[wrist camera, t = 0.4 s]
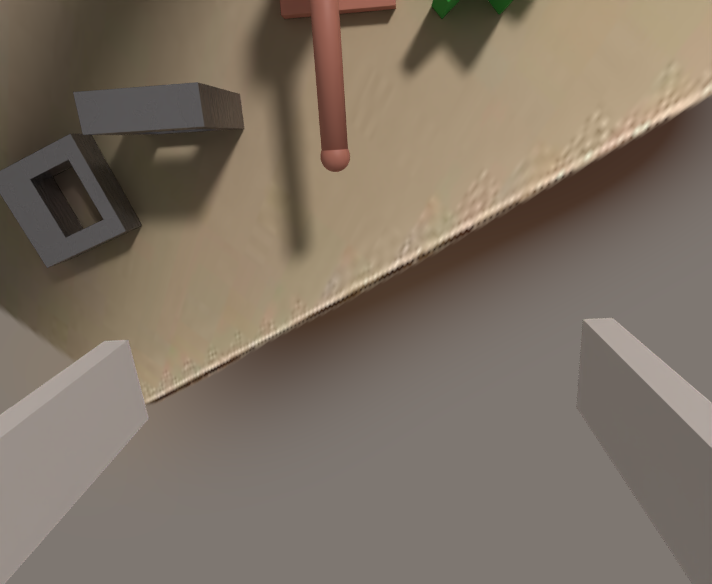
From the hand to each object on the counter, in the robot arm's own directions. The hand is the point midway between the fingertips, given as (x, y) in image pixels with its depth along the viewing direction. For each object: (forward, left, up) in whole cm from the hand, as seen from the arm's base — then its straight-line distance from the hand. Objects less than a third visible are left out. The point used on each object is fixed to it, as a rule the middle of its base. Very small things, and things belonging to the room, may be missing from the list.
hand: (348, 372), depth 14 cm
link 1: (-3, -25, -26) cm, 36 cm away
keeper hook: (-15, -2, -26) cm, 30 cm away
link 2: (-9, -14, -26) cm, 31 cm away
